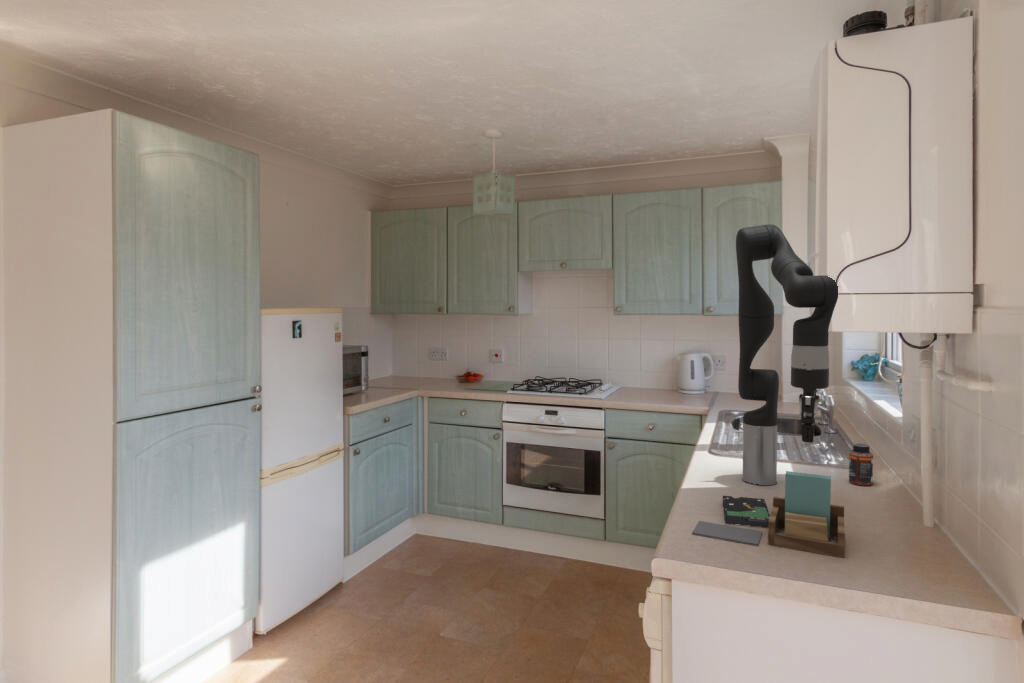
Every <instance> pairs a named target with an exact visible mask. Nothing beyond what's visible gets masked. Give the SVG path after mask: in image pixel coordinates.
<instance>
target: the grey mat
mask: <svg viewBox="0 0 1024 683" xmlns="http://www.w3.org/2000/svg"><path fill="white" fill-rule="evenodd" d="M762 534H763V530H757V529H749V528H744V527H739V526H731V525H728V524H727V525H726V524H721V523H714V522H709V521H703V520H698V522H697V523H696V525H695V527H694V529H693V530H692V532H691V535H696V536H699V537H700V536H701V537H706V538H712V539H717V540H723V541H729V542H734V543H739V544H746V545H750V546H751V545H752V546H755V547H756V546H757V547H758V546H759V544H760V541H761V538H762Z"/></svg>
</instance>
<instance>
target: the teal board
mask: <svg viewBox="0 0 1024 683" xmlns="http://www.w3.org/2000/svg"><path fill="white" fill-rule="evenodd" d="M784 475H785V483H784V484H785V486H784V488H785V489H784V498H785V513H786V512H788V513H795V514H803V515H810V516H818V517H825V518H826V521H827V532H828V542H831V541H830V538H831V537H830V504H831V495H832V494H831V493H832V492H831V491H832V476H831V475H824V474H814V473H806V472H797V471H789V470H786V471H785V474H784ZM783 534H786V533H785V530H784V533H783Z"/></svg>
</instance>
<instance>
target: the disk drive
mask: <svg viewBox="0 0 1024 683" xmlns="http://www.w3.org/2000/svg"><path fill="white" fill-rule="evenodd" d="M766 503H767V502H766V500H765V498H757V497H755V498H754V497H747V496H746V497H744V496H740V497H737V498H736V497H733V496H731V495H722V508H724V509H723V514H724V515H725V516H724V515H723V516H724V521H725V525H726V524H727V525H735V524H740V525H739V526H745V525H750V526H749V527H755V526H761V527H760V528H766V527H768V522H769V518H770V515H771V513H770V512H769V509H768V506H767V504H766Z"/></svg>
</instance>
